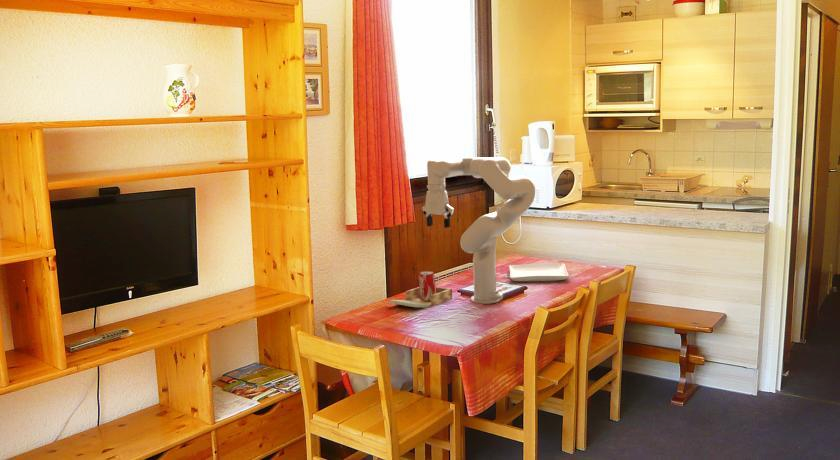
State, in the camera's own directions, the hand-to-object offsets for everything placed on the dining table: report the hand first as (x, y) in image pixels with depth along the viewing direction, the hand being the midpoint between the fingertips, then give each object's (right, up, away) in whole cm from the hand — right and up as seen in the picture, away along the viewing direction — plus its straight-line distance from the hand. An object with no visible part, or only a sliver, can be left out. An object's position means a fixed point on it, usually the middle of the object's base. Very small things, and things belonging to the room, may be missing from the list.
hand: (438, 226), depth 339 cm
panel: (-9, -33, -13) cm, 36 cm away
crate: (-4, -32, -8) cm, 34 cm away
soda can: (-5, -32, -8) cm, 33 cm away
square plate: (+48, -24, +29) cm, 61 cm away
